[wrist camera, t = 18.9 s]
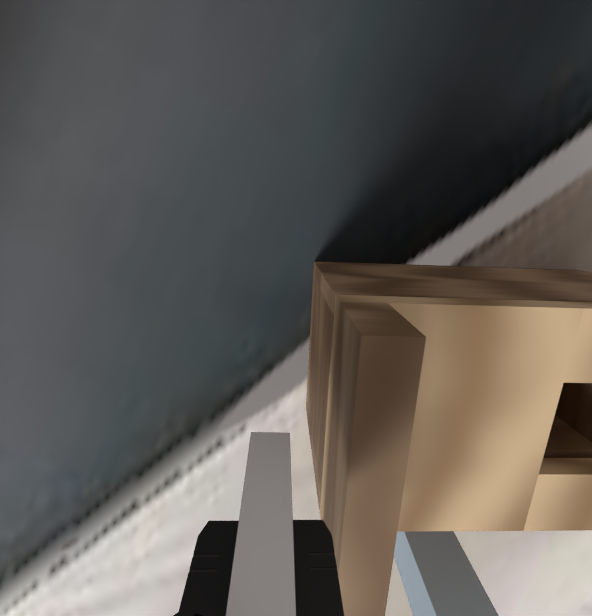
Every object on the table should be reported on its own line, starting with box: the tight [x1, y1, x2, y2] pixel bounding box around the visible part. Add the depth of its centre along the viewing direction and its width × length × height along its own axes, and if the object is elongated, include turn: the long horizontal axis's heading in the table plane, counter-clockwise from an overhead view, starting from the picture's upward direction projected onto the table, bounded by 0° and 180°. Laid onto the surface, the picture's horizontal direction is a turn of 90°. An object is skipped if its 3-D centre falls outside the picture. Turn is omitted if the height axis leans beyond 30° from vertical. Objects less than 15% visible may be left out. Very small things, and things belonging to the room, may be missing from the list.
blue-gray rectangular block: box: [394, 531, 498, 616], centre depth 24 cm, size 4×4×16 cm
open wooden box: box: [306, 261, 592, 509], centre depth 23 cm, size 20×12×10 cm, turn 88°
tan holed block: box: [320, 295, 592, 616], centre depth 15 cm, size 20×12×5 cm, turn 88°
